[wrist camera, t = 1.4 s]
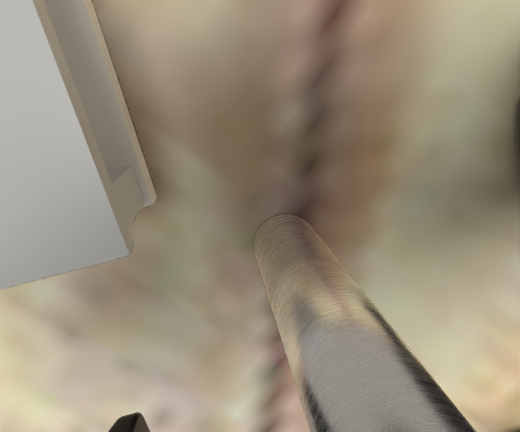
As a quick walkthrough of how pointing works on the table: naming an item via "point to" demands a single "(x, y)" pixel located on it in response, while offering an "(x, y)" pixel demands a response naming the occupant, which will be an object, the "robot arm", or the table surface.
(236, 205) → the table surface
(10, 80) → the grey square-hole box
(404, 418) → the shiny metal cylinder
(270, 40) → the table surface
